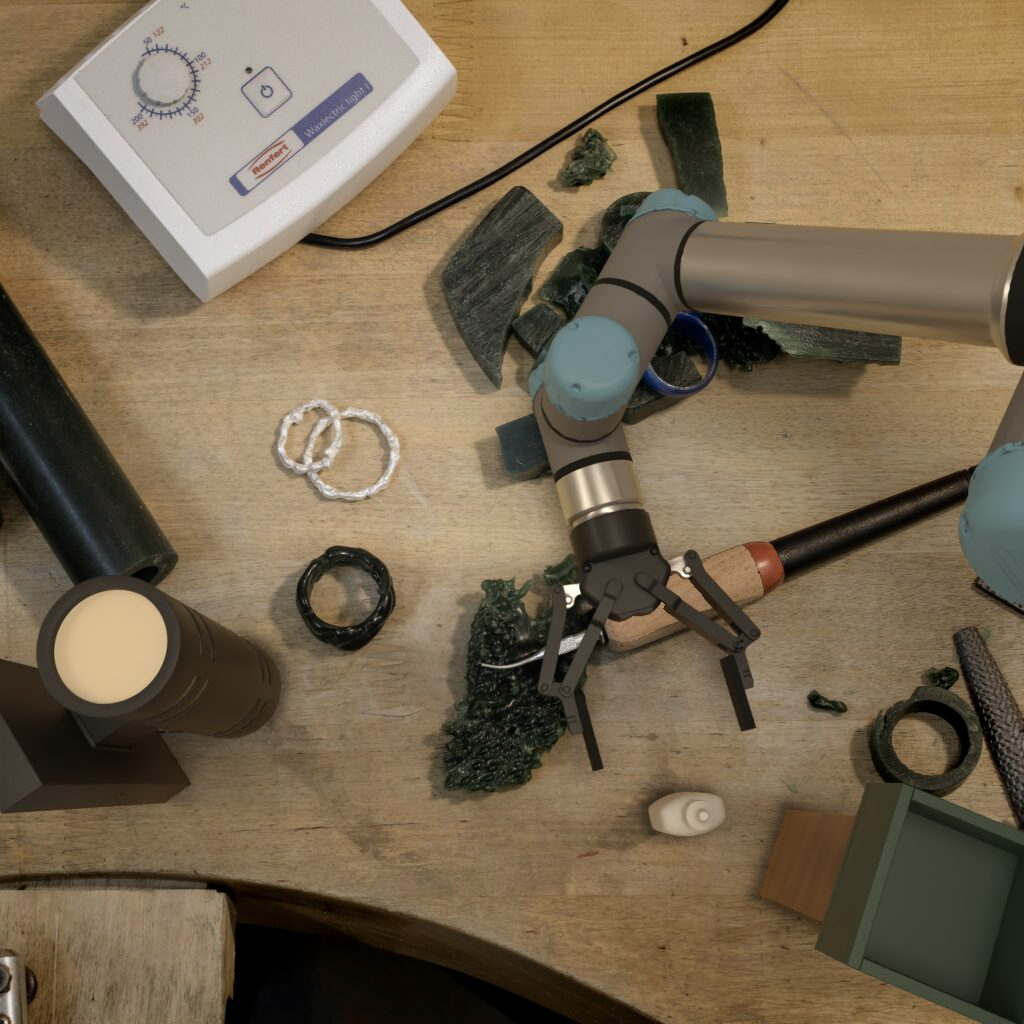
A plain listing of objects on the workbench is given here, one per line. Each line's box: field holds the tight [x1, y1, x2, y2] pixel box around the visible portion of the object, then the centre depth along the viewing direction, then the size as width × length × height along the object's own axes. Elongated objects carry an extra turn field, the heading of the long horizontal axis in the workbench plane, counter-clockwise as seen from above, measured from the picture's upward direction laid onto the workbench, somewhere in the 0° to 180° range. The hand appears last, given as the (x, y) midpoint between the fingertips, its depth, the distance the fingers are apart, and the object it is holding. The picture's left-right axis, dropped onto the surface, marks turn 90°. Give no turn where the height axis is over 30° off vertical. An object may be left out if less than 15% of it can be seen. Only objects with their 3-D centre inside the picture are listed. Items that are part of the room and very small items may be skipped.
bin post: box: [758, 808, 856, 923], centre depth 83 cm, size 8×8×25 cm
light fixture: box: [0, 574, 282, 815], centre depth 82 cm, size 10×15×33 cm
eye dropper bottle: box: [647, 791, 727, 837], centre depth 90 cm, size 4×6×12 cm
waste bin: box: [814, 782, 1024, 1024], centre depth 68 cm, size 12×12×7 cm
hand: (673, 750), depth 91 cm, fingers open, 13 cm apart
